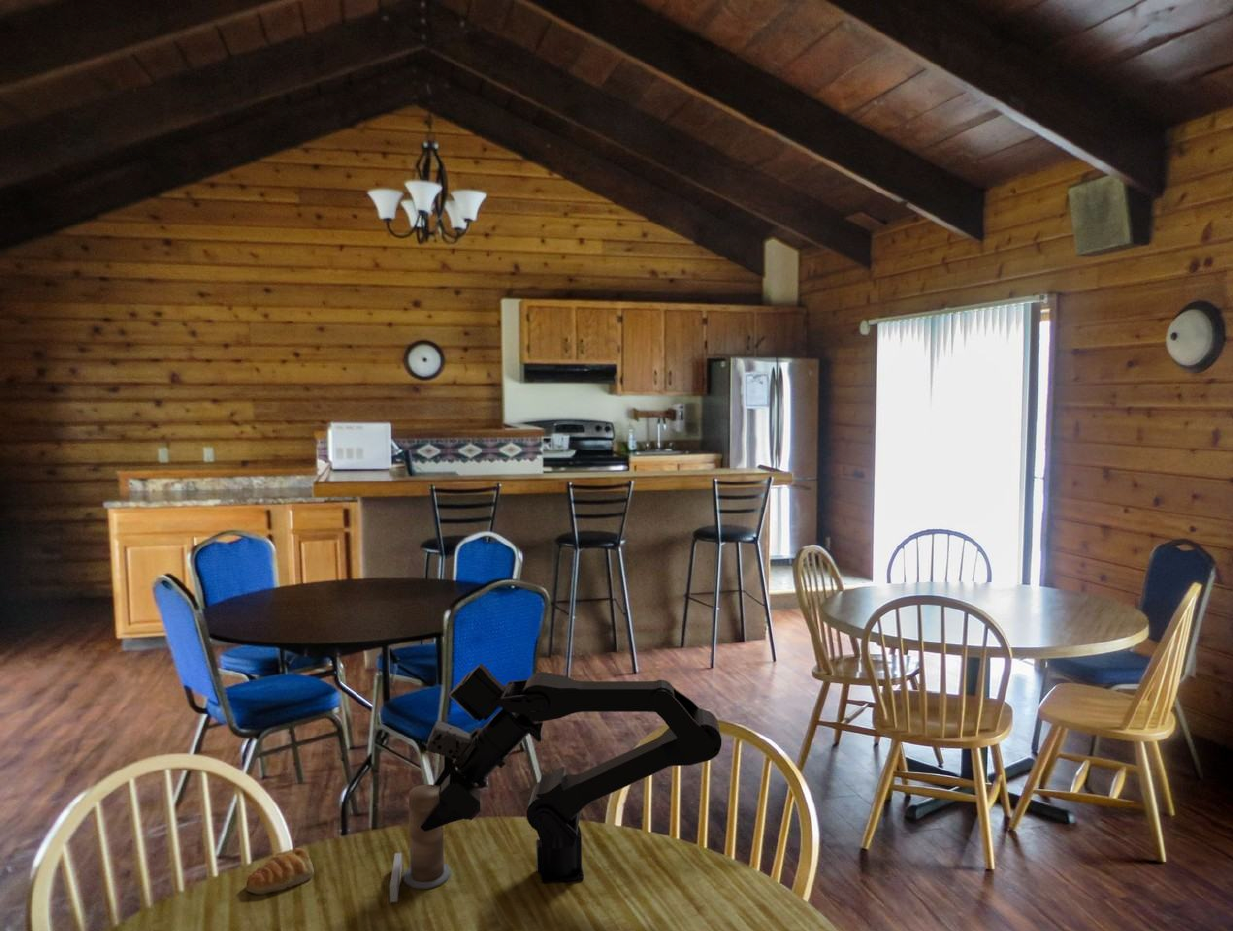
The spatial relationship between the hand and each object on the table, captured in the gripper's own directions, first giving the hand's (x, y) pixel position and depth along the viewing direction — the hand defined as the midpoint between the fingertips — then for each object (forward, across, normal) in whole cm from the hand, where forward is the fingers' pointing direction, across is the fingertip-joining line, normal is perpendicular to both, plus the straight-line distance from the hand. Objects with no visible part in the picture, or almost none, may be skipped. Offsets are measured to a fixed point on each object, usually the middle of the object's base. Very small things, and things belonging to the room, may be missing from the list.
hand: (425, 814), depth 135 cm
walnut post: (+7, 0, +7) cm, 9 cm away
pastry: (+23, -2, -8) cm, 24 cm away
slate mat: (+7, 0, +7) cm, 10 cm away
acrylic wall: (+10, +2, +4) cm, 11 cm away
